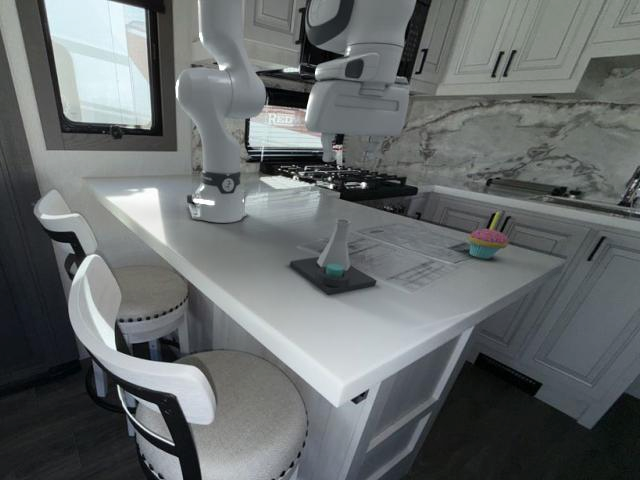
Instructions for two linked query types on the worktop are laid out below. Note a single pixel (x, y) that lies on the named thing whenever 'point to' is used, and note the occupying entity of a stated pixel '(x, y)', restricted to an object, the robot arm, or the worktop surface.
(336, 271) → the button
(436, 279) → the worktop surface
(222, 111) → the robot arm
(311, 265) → the black flat block
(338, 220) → the flask
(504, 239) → the cupcake
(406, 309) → the worktop surface
